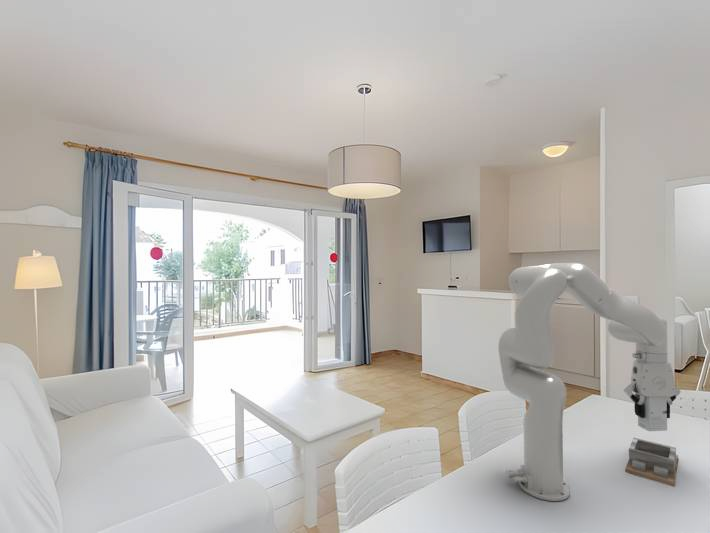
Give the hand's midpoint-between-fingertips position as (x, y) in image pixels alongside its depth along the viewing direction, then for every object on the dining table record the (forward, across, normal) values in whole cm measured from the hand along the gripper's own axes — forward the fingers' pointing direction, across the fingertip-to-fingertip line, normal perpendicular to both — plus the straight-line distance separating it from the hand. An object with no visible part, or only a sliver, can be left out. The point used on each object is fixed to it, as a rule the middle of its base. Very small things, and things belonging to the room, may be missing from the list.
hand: (652, 415), depth 114 cm
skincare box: (+4, 0, 0) cm, 4 cm away
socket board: (+15, 0, 0) cm, 15 cm away
